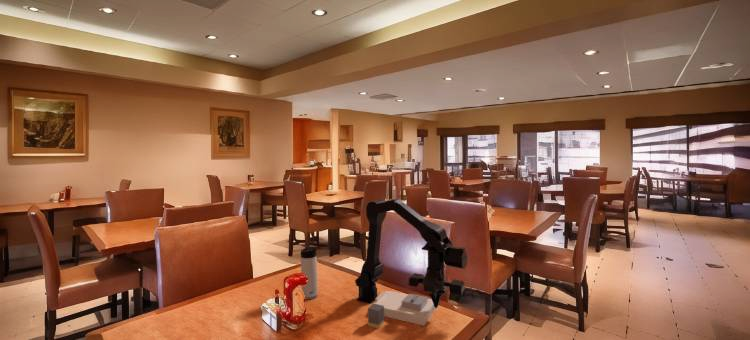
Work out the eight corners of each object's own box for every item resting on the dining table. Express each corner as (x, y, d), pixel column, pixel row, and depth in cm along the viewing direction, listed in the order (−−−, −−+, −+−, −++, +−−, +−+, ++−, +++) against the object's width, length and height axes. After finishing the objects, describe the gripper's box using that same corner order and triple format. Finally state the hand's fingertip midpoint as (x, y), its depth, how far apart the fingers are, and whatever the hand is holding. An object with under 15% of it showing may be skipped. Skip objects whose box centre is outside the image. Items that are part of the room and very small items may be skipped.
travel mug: (315, 300, 135) (313, 250, 134) (299, 299, 137) (297, 249, 135) (320, 293, 142) (319, 246, 140) (305, 292, 143) (304, 245, 142)
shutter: (427, 302, 125) (427, 295, 125) (420, 310, 119) (420, 303, 119) (409, 298, 129) (408, 291, 129) (401, 306, 122) (401, 299, 122)
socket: (436, 308, 128) (436, 296, 127) (424, 325, 115) (424, 313, 115) (387, 298, 137) (387, 287, 136) (371, 313, 124) (371, 302, 124)
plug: (368, 325, 116) (367, 308, 115) (373, 320, 119) (373, 303, 119) (378, 328, 114) (378, 310, 114) (384, 322, 117) (383, 305, 117)
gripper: (402, 266, 116) (402, 311, 117) (457, 275, 108) (457, 323, 109) (413, 257, 126) (414, 298, 127) (465, 264, 118) (465, 308, 119)
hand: (436, 307), depth 120 cm, fingers closed
